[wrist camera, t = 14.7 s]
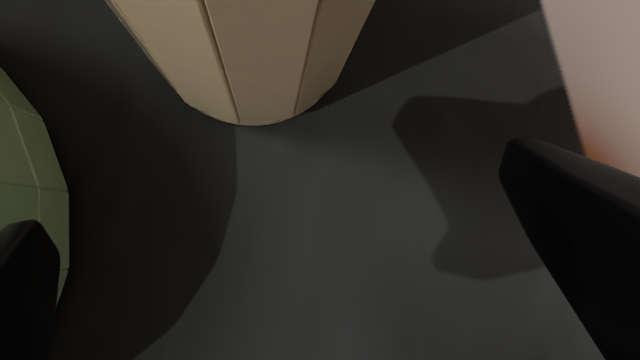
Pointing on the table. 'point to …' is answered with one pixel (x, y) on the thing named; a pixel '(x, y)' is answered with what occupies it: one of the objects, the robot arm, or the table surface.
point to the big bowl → (31, 172)
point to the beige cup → (246, 51)
